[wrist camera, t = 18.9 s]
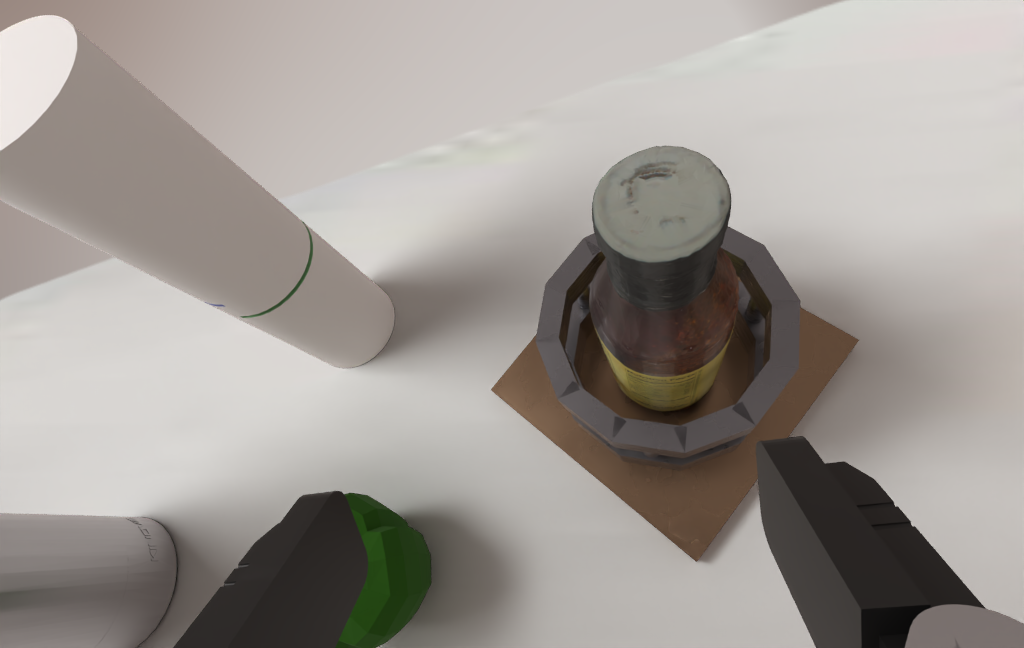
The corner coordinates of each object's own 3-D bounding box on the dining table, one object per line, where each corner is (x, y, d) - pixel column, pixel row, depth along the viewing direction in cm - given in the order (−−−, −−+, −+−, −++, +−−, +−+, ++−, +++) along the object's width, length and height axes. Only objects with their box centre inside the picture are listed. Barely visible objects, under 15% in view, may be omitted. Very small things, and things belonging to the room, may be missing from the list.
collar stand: (695, 561, 30) (707, 572, 22) (495, 393, 37) (447, 354, 29) (853, 345, 32) (916, 283, 24) (635, 222, 39) (627, 141, 31)
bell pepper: (431, 482, 36) (354, 465, 27) (465, 613, 33) (389, 645, 24) (323, 525, 37) (213, 523, 28) (344, 658, 34) (227, 704, 25)
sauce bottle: (639, 308, 35) (617, 77, 18) (733, 346, 33) (817, 124, 15) (594, 394, 34) (521, 239, 16) (688, 440, 32) (723, 319, 14)
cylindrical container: (334, 277, 44) (-7, 15, 22) (407, 291, 42) (110, 14, 19) (299, 357, 42) (-113, 160, 20) (375, 377, 40) (2, 179, 17)
